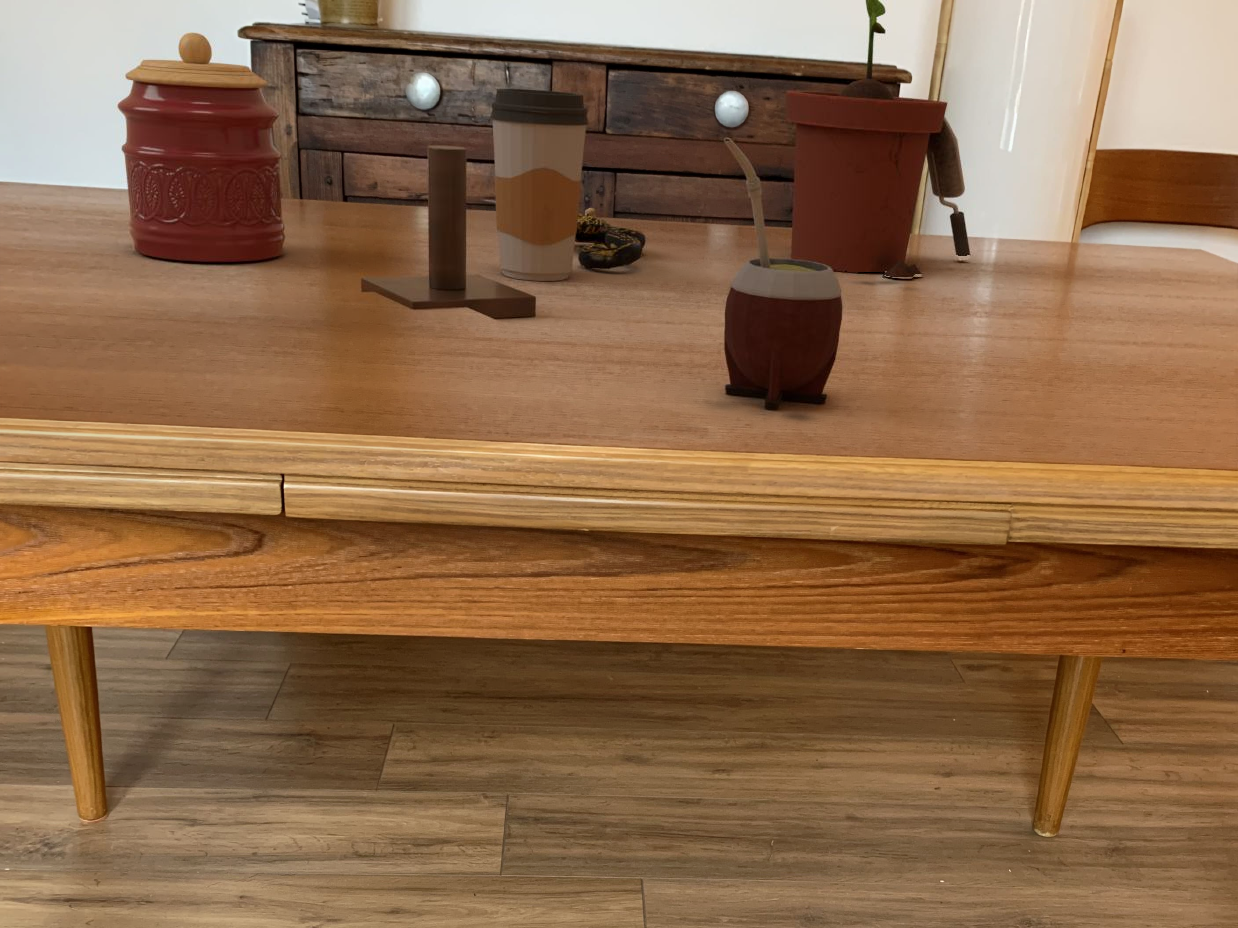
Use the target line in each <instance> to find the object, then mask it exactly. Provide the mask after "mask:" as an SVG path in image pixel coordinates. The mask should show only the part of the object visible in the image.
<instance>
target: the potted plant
mask: <svg viewBox="0 0 1238 928" xmlns="http://www.w3.org/2000/svg"><path fill="white" fill-rule="evenodd" d="M865 6H866V13H867V15H868V19H869V21H868V22H869V24H868V25H869V27H868V28H869V29H868V50H867V61H866V62H867V64H866V76H865V78H862V79H859V80H855V81H851V82H850V83H849V84H847V86H846V87H845V88H843V89H842V90H841V91H840V92H835V91H834V92H833V91H813V90H786V91H785V116H786V117H785V120H786V121H787V122H790V123H795V126H796V127H795V145H794V147H795V148H794V170H793V171H794V174H793V197H792V199H793V201H792V227H791V249H790V250H791V251H790V259H794V260H803V261H810V262H816V263H820V264H824V265H826V266H829V267H830V268H831V269H832V270H833V272H841V273H842V272H843V273H855V274H856V273H857V274H859V273H858V272H885V271H887V272H886V273H882V275H886V276H890V277H913V276H914V275H915V274H922V275H923V273H922V271H920V269H919V268H918V266H917V264H916V263H913V264H911V265H909V264H907V263H906V258H907V252H908V248H909V242H910V238H911V232H912V229H913V223H914V216H915V212H916V206H917V202H918V197H919V191H920V187H921V181H922V176H923V171H924V165H925V161H926V162H927V168H928V173H929V180H930V184H931V191H932V194H933V195H934V196H935V197H938V199H939V203H940V204H941V205H943V206H944V207H948V208H951V209H952V210H953V212H952V213H951V214H950V215H949V220H950V221H949V222H950V227H951V233H952V239H953V245H954V251H955V256H956V255H958V256H967V255H970V256H971V250H970V243H969V237H968V232H967V225H966V219H965V213H964V212H963V211H961V210H960V211H959V207H958V205H957V204H956V203H955V202H952V201H948V200H945V199H955V198H959V197H961V196H963V195H964V193H965V190H966V188H965V187H966V186H965V180H964V174H963V173H964V172H963V167H962V160H961V155H960V149H959V142H958V139H957V136H956V134H955V132H954V131H953V128H952V127H951V125H950V123H949V121H948V120H947V118H946V116H945V115H946V112H947V108H948V107H947V106H948V102H947V101H940V100H933V99H923V98H912V97H903V96H902V97H900V96H894V95H893V93H892V92H891V91H890V89H889V88H888V87H887V86H886V84H885V83H883V82H881V81H878V80H875V79H873V63H874V62H873V61H874V37H875V34H883V35H884V34H886V29H885V28H884V27H883V25H882V24H881V23H880V22H878V21H877V19H878V18H879V17H881V16H883V15H885V14H886V7H885V5H884V3H882V2H881V1H880V0H865ZM958 262H960V263H961V261H958ZM835 270H836V271H835ZM845 271H847V272H845ZM890 279H892V278H890ZM892 280H893V279H892Z"/></svg>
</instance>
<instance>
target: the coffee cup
mask: <svg viewBox="0 0 1238 928" xmlns="http://www.w3.org/2000/svg"><path fill="white" fill-rule="evenodd" d="M584 101H585V100H584V94H581V93H575V92H568V91H567V92H566V91H555V90H543V89H542V90H541V89H523V88H497V89H496V95H495V101H493V102H491V113H490V119H491V120H492V132H493V133H492V135H493V138H492V139H493V155H494V175H493V178H494V179H493V181H494V194H495V195H494V197H495V217H496V219H495V220H496V230H497V238H498V259H499V268H501V269H502V275H504V276H505V277H508V278H511V279H515V280H516V279H518V280H522V281H523V280H524V281H538V282H553V281H563V280H567V279H569V275H570V274H569V273H570V272H572V271H573V263H574V252H575V244H576V242H575V234H576V232H577V222H578V214H579V213H580V212H579V210H580V200H581V190H582V171H583V160H584V153H585V152H584V151H585V141H586V130H587V126H588V125H589V121H588V116H587V115H588V113H589V112H588V108H586V107H585V102H584Z"/></svg>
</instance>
